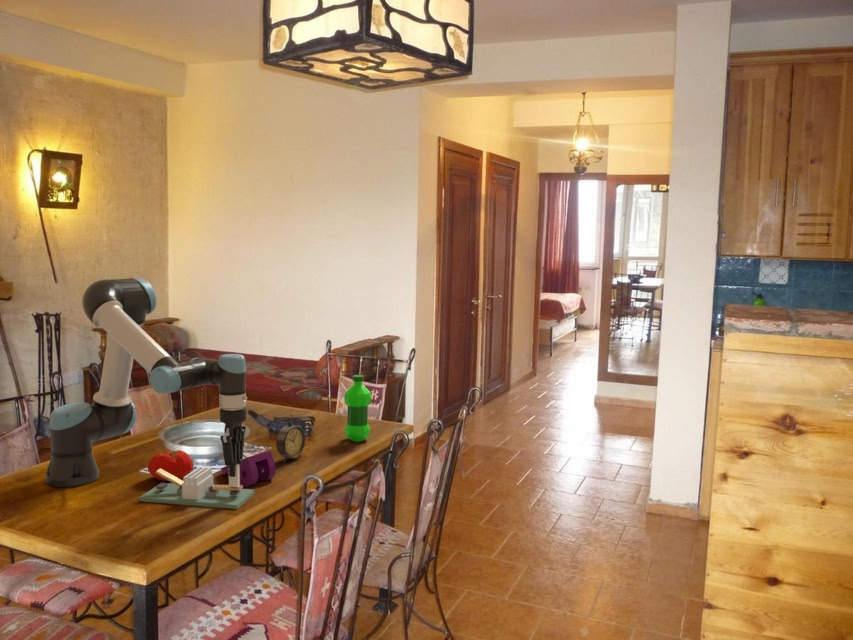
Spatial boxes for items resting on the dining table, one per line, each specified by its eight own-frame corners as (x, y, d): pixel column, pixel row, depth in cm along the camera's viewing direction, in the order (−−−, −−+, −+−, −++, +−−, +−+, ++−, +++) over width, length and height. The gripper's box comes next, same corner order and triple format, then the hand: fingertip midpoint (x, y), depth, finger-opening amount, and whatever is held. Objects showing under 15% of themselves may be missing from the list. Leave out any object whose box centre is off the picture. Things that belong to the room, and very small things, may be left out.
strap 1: (154, 473, 219) (156, 470, 218) (159, 471, 221) (160, 467, 221) (182, 489, 218) (184, 485, 218) (186, 486, 220) (188, 482, 220)
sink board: (139, 501, 215) (138, 475, 214) (161, 486, 227) (161, 462, 226) (237, 509, 210) (237, 483, 209) (254, 493, 223) (254, 469, 222)
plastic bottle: (365, 444, 278) (366, 379, 275) (339, 441, 281) (340, 377, 278) (374, 437, 287) (375, 374, 285) (349, 435, 290) (350, 372, 287)
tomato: (195, 470, 243) (195, 444, 242) (192, 483, 231) (192, 456, 230) (151, 472, 240) (150, 446, 239) (146, 485, 228) (145, 458, 227)
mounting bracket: (222, 495, 237) (254, 483, 226) (215, 470, 239) (247, 457, 228) (245, 488, 245) (278, 476, 234) (238, 463, 246) (270, 450, 235)
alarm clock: (285, 464, 251) (285, 418, 250) (273, 462, 254) (273, 416, 252) (305, 456, 261) (306, 412, 259) (294, 454, 264) (294, 409, 262)
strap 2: (208, 490, 217) (208, 486, 216) (212, 487, 219) (212, 483, 219) (239, 491, 215) (239, 487, 215) (243, 488, 218) (242, 484, 218)
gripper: (236, 413, 207) (237, 494, 210) (253, 403, 220) (254, 479, 222) (211, 412, 208) (212, 492, 211) (230, 402, 221) (231, 478, 223)
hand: (234, 486), depth 216 cm, fingers closed
